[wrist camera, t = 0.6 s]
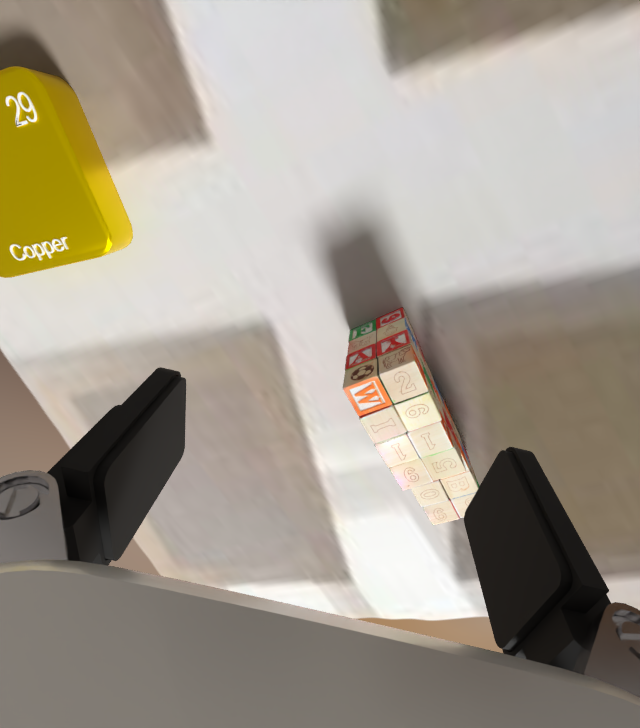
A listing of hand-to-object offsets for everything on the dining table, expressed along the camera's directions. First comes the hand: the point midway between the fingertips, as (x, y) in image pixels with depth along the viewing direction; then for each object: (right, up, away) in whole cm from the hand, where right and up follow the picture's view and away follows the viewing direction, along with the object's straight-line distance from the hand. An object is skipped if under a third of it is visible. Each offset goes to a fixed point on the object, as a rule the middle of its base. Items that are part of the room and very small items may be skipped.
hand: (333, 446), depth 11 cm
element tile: (-28, +20, +27) cm, 44 cm away
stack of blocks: (+10, -1, +33) cm, 35 cm away
